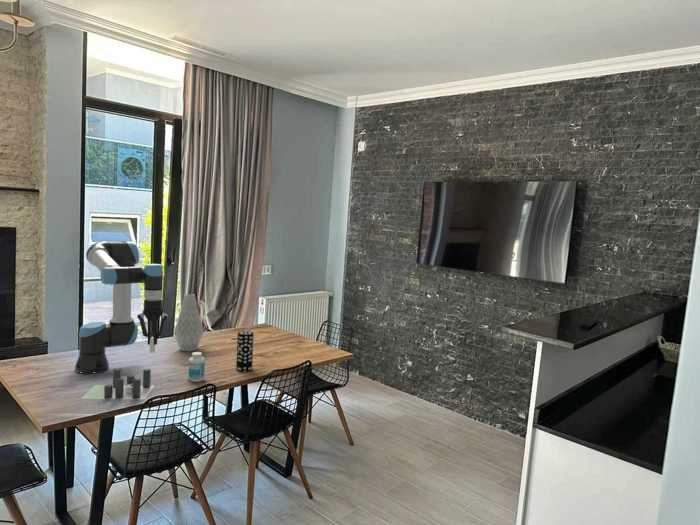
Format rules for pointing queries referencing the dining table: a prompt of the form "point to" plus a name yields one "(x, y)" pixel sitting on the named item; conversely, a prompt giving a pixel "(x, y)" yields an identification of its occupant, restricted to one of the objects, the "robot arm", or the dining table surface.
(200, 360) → the pill bottle
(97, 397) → the board
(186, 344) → the vase
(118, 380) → the spacers
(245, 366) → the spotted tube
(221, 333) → the dining table surface
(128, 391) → the nut
